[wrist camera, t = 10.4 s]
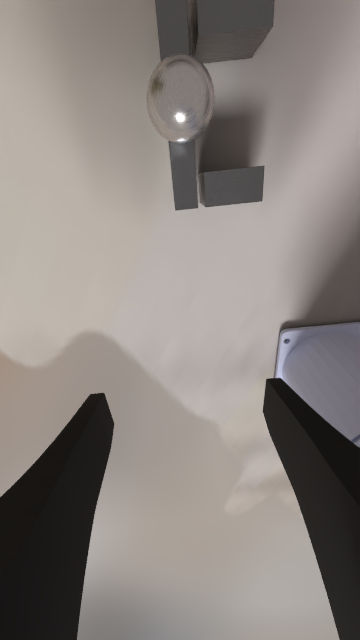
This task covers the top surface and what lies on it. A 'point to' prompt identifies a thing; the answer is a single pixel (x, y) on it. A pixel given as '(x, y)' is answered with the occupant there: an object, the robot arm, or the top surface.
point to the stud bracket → (202, 90)
